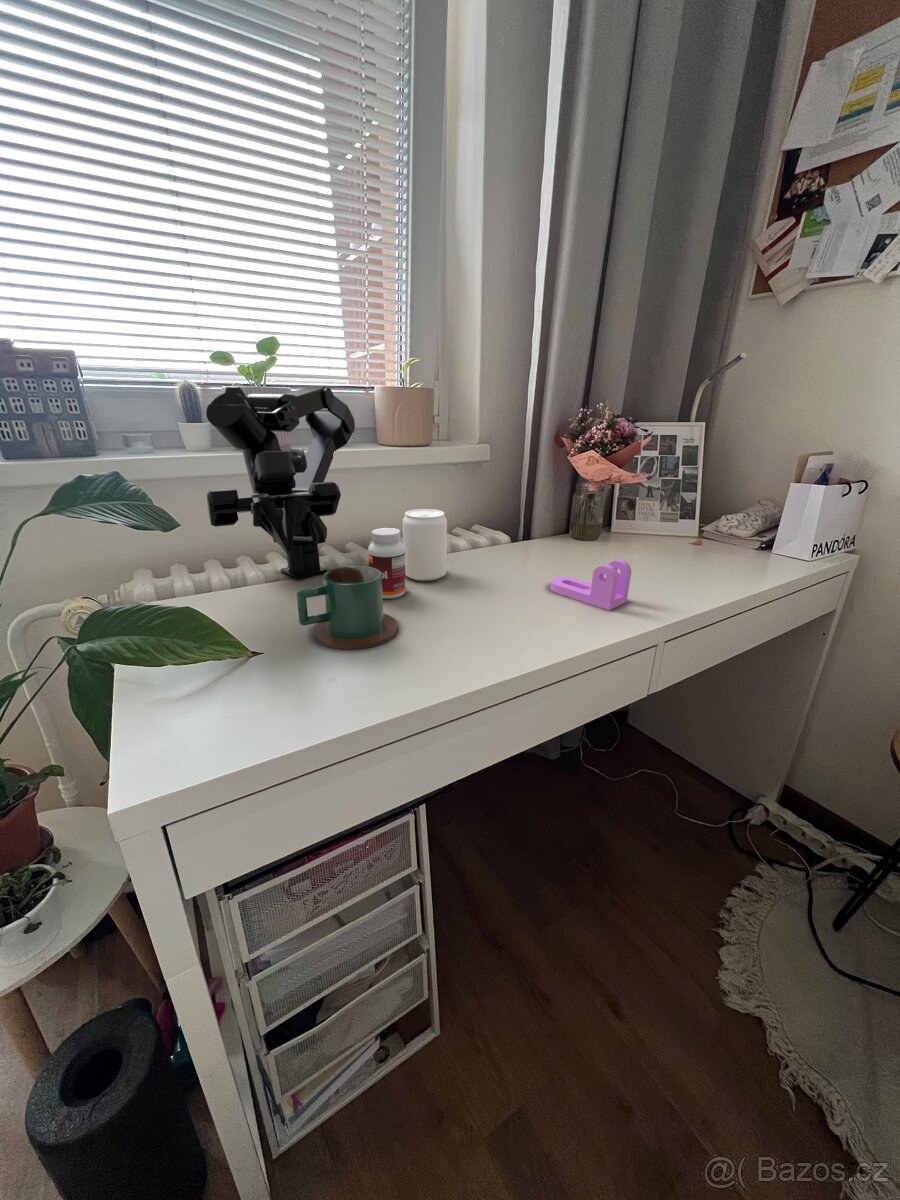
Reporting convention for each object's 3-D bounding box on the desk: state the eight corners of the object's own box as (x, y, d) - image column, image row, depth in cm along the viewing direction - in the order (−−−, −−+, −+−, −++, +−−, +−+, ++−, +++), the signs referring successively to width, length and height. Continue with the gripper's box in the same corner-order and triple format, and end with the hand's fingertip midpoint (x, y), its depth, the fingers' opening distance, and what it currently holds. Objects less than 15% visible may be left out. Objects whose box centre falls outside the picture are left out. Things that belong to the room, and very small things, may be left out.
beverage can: (448, 569, 99) (449, 509, 95) (443, 583, 92) (444, 518, 87) (407, 567, 100) (406, 507, 95) (400, 581, 93) (398, 517, 88)
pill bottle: (362, 593, 87) (358, 531, 83) (388, 584, 91) (386, 524, 87) (387, 602, 83) (384, 537, 79) (413, 592, 87) (412, 530, 83)
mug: (372, 611, 78) (369, 562, 75) (392, 631, 72) (390, 578, 69) (294, 627, 73) (288, 574, 70) (308, 650, 66) (302, 593, 63)
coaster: (297, 630, 73) (297, 627, 73) (363, 607, 81) (363, 604, 81) (347, 658, 65) (347, 654, 65) (414, 629, 74) (414, 626, 73)
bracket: (626, 601, 85) (632, 562, 82) (609, 610, 81) (614, 569, 79) (562, 581, 93) (566, 545, 91) (544, 588, 90) (547, 551, 87)
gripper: (195, 429, 67) (217, 529, 62) (332, 427, 76) (361, 514, 71) (201, 481, 77) (221, 570, 72) (322, 473, 85) (347, 553, 80)
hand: (289, 551), depth 73 cm, fingers closed
